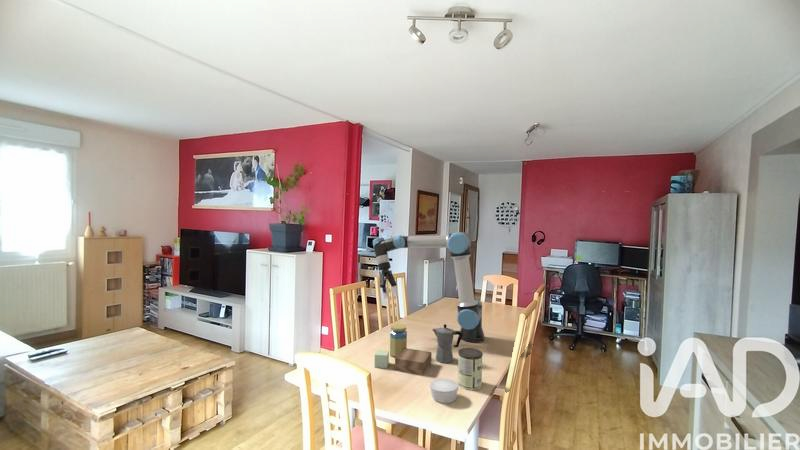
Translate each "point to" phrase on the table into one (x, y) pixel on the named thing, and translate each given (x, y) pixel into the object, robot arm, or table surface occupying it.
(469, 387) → the coffee can
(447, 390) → the ramekin
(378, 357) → the sage cube
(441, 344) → the coffeepot
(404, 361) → the walnut block
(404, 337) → the jar
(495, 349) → the table surface
